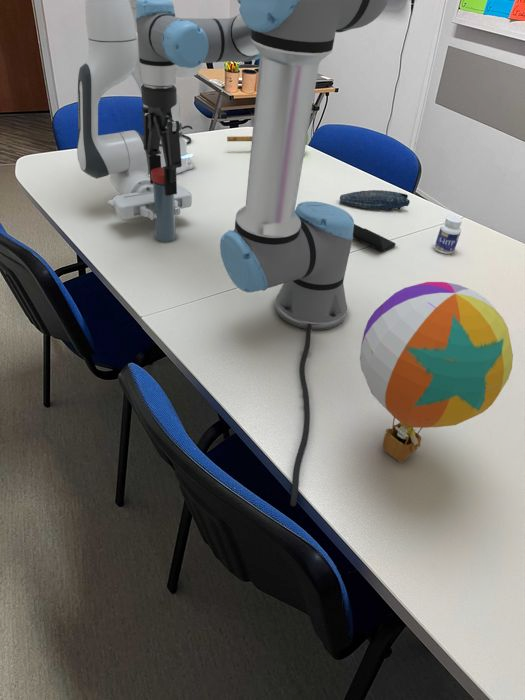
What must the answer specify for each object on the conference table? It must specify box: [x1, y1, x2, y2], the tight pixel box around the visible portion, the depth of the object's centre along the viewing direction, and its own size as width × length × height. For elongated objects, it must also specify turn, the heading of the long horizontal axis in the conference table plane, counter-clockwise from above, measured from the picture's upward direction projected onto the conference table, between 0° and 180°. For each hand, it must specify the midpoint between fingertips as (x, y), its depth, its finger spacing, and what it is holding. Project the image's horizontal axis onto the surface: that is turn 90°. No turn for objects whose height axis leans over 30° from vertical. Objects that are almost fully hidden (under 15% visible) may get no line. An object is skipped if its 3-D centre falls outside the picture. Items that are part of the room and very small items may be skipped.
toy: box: [359, 281, 514, 463], centre depth 73 cm, size 20×20×30 cm
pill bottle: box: [434, 215, 463, 255], centre depth 137 cm, size 5×5×9 cm
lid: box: [151, 167, 165, 184], centre depth 124 cm, size 6×6×2 cm
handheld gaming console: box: [353, 223, 396, 253], centre depth 138 cm, size 12×7×10 cm
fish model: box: [339, 189, 411, 211], centre depth 158 cm, size 7×21×5 cm, turn 84°
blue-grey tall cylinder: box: [153, 182, 176, 243], centre depth 129 cm, size 5×5×16 cm
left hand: (166, 214), depth 129 cm, fingers closed on blue-grey tall cylinder, 5 cm apart
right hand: (163, 188), depth 126 cm, fingers open, 7 cm apart
